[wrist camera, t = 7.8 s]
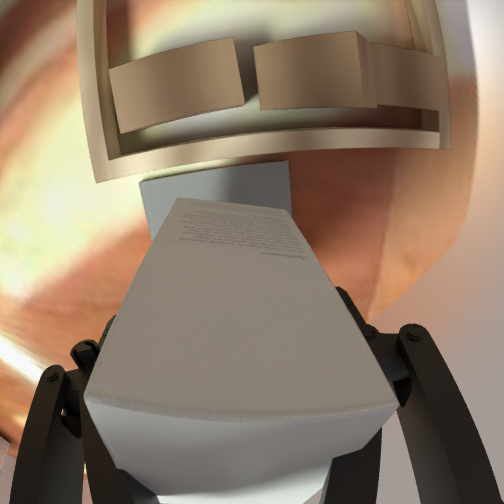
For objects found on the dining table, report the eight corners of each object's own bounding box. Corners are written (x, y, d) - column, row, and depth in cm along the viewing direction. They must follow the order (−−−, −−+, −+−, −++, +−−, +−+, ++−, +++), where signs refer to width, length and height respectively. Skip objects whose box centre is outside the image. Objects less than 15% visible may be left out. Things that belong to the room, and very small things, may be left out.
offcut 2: (286, 109, 17) (260, 110, 15) (280, 52, 16) (253, 46, 13) (377, 108, 14) (363, 106, 12) (370, 43, 12) (355, 30, 10)
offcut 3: (337, 104, 18) (359, 103, 14) (332, 50, 16) (352, 40, 13) (418, 109, 18) (446, 111, 15) (414, 61, 16) (441, 57, 13)
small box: (265, 320, 20) (300, 509, 8) (171, 312, 19) (139, 505, 7) (290, 206, 16) (409, 405, 5) (176, 192, 15) (69, 396, 4)
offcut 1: (137, 130, 17) (120, 133, 14) (127, 76, 15) (108, 69, 12) (241, 106, 17) (244, 104, 14) (231, 51, 15) (232, 37, 12)
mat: (171, 303, 23) (170, 305, 23) (140, 181, 18) (138, 183, 18) (294, 286, 23) (295, 289, 23) (287, 160, 19) (288, 160, 18)
